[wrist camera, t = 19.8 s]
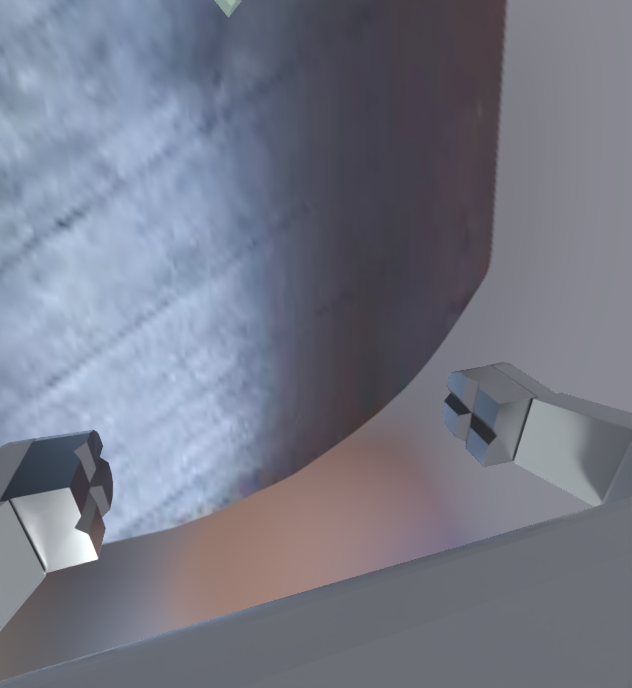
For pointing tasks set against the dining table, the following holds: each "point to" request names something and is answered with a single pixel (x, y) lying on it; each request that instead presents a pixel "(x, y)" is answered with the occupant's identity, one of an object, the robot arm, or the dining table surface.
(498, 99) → the dining table surface
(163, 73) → the dining table surface
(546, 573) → the robot arm
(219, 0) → the socket plate
